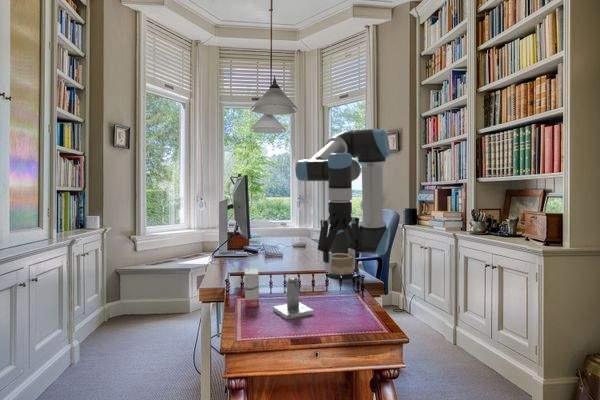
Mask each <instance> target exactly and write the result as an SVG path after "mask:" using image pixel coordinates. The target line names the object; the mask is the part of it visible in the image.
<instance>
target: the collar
mask: <svg viewBox="0 0 600 400" xmlns="http://www.w3.org/2000/svg"><path fill="white" fill-rule="evenodd" d="M353 271H354V256H353V255H350V254H342V253H335V254H332V273H331V274H337V275H345V274H351V273H353Z"/></svg>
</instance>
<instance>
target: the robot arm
mask: <svg viewBox="0 0 600 400" xmlns="http://www.w3.org/2000/svg"><path fill="white" fill-rule="evenodd" d="M390 154H391V153H390V142H389V137H388V134H387V132H386V130H384V129H380V128H371V129H369V128H368V129H357V130H356V129H350V130H346V131H342V132H340V133H337V134H335V135H333V136H332V137H330V138H329V139H328V140H327V142H326V143H325V146H323V147H322V148H321V149H320V150H319V151H318V152H316V153H315V154H314V155H313V156H311V158H309V159H307V158H306V159H298V160H297V162H296V164H295V168H294V169H295V170H294V171H295V176H296V178H297V180H298V181H300V182H302V181H303V182H328V200H329V202H328V208H327V209H328V214H329V216H328V218H327V219H320V222H319V223H320V232H319V238H318V244H317V250H318V251H320V252H322V255H323V256H322V257H323V260H322V261H323V262H324V263H325V264H324V265H325V267H324V270H325V273H326V272H328V273H329V274H328V276H327V277H330V278H334V279H344V280H345V279H353V274H352V273H351V274H345V275H341V276H342V278H340V275H337V274H331V273H332V254H335V253H342V254H350V255H353V256H354V272H356V273H357V274H359V275H360V269H359V265H358V261H357V254H367V255H368V254H371V255H375V256H376V255H385V254H386V252H387V250H388V248H389V244H390V238H391V228H389V227H387V222H386V221H385V220H384V219H383V218H384V217H383V212H384V211H383V165H384V163H386V158H389V157H390ZM353 158H354V159H353ZM355 158H357V160H355ZM360 176H361V191H362V192H361V193H362V194H361V198H362V199H361V200H362V201H361V202H362V205H361V206H362V220H361V221H360V218H359V217H357V216H352V213H353V212H352V211H353V210H352V209H353V203H352V200H353V186H352V183H353V181H355V180H357V179H358V178H359V177H360Z"/></svg>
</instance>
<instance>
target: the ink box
mask: <svg viewBox="0 0 600 400" xmlns="http://www.w3.org/2000/svg"><path fill="white" fill-rule="evenodd" d="M259 284H260V279H259V268H245V269H244V305H245V308H257V307H258V306H259V307H260V305H259V303H260V302H259V301H260V300H259V299H260V290H259V289H260V285H259Z"/></svg>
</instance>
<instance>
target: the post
mask: <svg viewBox="0 0 600 400" xmlns="http://www.w3.org/2000/svg"><path fill="white" fill-rule="evenodd" d="M272 311H273V312H274V313H275V314H277V315H278V316H280V317H282V318H283V319H285V321H287V320H292V319H297V318H302V317H303V318H304V317H308V316H313V315H315V314H314V313H315V312H314V309H313V308H310V307H308V306H307V305H305V304H303V302H300V281H299V280H298V278H297V277H289V278H288V279H287V281H286V303H284V304H279V305H275V306H272Z"/></svg>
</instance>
